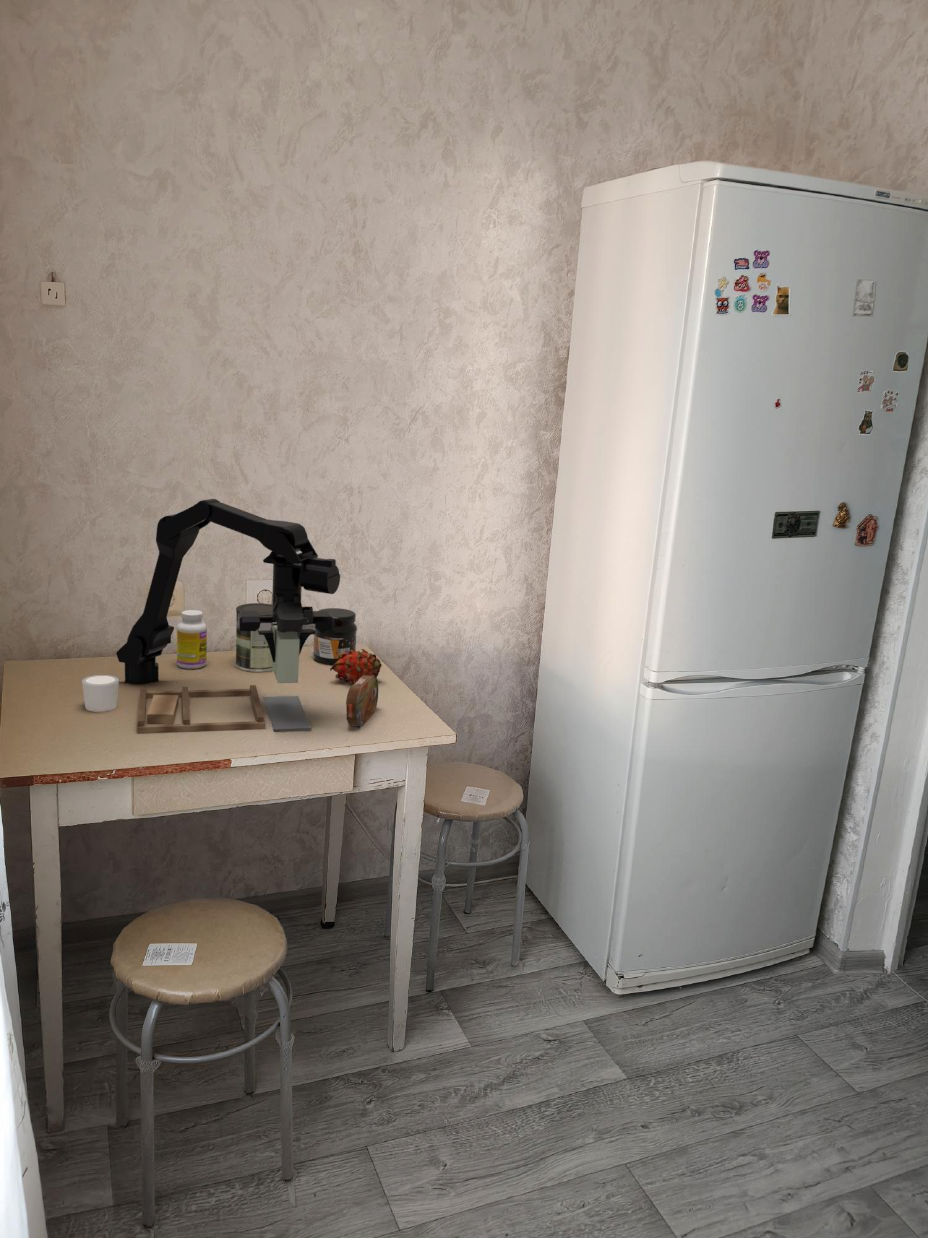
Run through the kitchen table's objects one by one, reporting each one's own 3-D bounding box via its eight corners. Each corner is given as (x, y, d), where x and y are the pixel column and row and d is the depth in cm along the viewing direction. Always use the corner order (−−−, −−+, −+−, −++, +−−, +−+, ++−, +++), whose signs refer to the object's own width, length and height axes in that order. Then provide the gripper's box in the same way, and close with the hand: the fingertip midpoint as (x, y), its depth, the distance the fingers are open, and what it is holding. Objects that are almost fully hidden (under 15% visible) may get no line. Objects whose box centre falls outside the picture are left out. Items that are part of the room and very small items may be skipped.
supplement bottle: (201, 670, 218) (202, 617, 215) (173, 668, 218) (173, 614, 215) (209, 662, 225) (210, 610, 222) (182, 660, 225) (182, 607, 222)
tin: (357, 732, 189) (359, 692, 187) (342, 730, 190) (344, 690, 187) (378, 708, 203) (381, 671, 201) (364, 706, 204) (366, 669, 202)
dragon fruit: (384, 689, 220) (333, 697, 217) (378, 660, 225) (327, 667, 222) (385, 668, 213) (332, 676, 211) (378, 638, 218) (326, 646, 216)
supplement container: (319, 667, 228) (321, 619, 225) (307, 654, 237) (309, 608, 234) (361, 664, 232) (363, 617, 229) (348, 652, 241) (350, 606, 238)
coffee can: (228, 669, 221) (229, 611, 217) (244, 657, 231) (245, 601, 227) (271, 674, 220) (272, 615, 216) (285, 662, 229) (286, 605, 226)
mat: (267, 731, 185) (267, 729, 185) (258, 699, 203) (258, 696, 203) (310, 730, 188) (310, 728, 188) (298, 698, 205) (298, 695, 205)
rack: (137, 740, 177) (137, 722, 176) (140, 702, 196) (140, 686, 195) (265, 735, 184) (265, 718, 183) (256, 699, 202) (256, 684, 202)
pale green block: (277, 683, 187) (279, 639, 185) (271, 664, 198) (272, 623, 196) (298, 682, 188) (299, 639, 186) (290, 664, 199) (292, 623, 197)
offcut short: (147, 724, 181) (147, 714, 181) (153, 704, 192) (153, 694, 191) (173, 724, 182) (173, 714, 182) (178, 704, 193) (178, 695, 192)
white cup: (126, 711, 191) (126, 678, 189) (103, 721, 184) (103, 687, 183) (98, 704, 193) (98, 672, 191) (74, 715, 186) (74, 681, 185)
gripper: (242, 596, 179) (240, 675, 182) (340, 596, 184) (336, 673, 188) (238, 582, 189) (236, 657, 193) (331, 583, 194) (328, 656, 198)
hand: (284, 661), depth 193 cm, fingers closed on pale green block, 4 cm apart
